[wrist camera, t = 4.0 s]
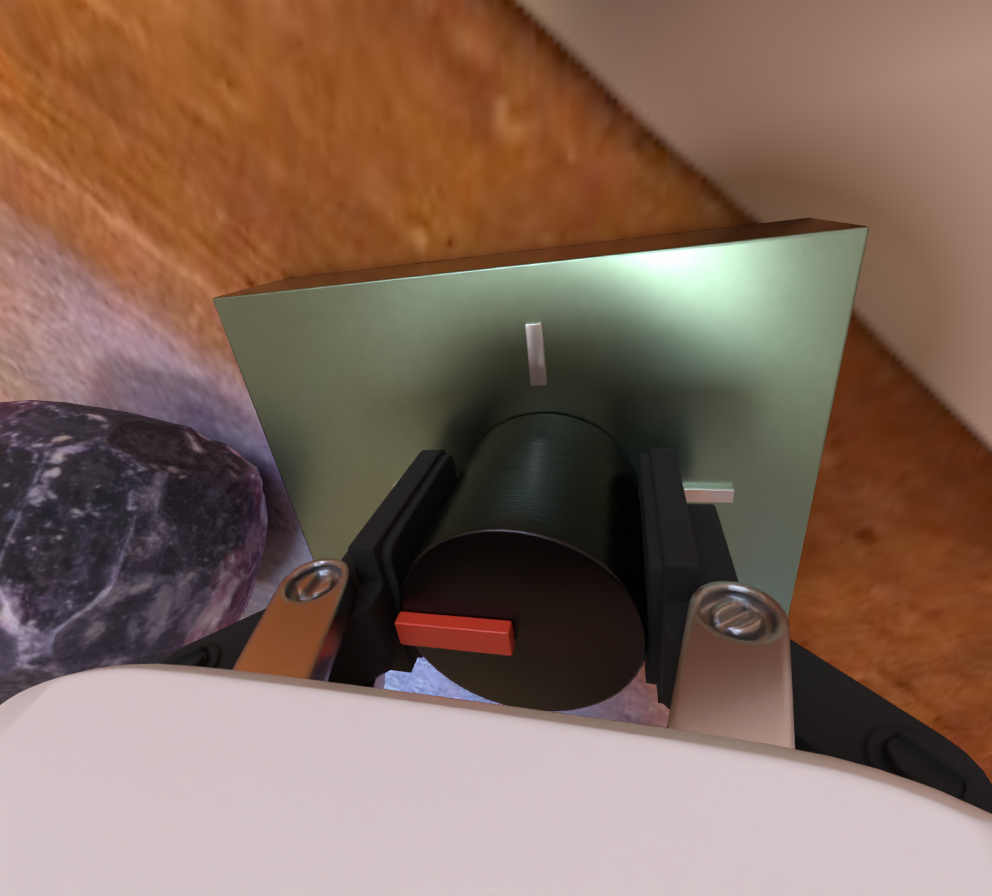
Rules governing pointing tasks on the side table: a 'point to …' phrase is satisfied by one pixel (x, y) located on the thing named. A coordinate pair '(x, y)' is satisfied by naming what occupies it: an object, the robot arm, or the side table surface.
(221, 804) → the robot arm
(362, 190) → the side table surface
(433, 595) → the knob
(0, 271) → the side table surface
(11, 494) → the mineral specimen
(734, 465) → the panel
